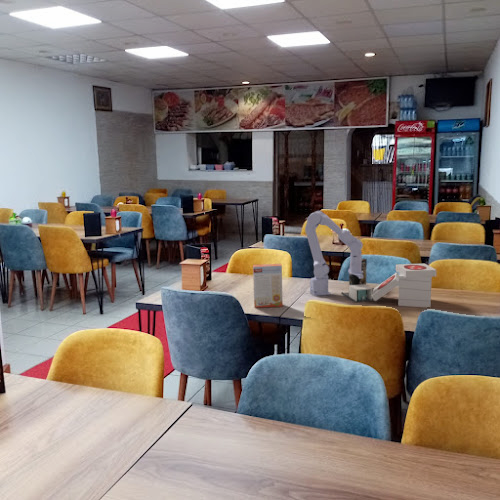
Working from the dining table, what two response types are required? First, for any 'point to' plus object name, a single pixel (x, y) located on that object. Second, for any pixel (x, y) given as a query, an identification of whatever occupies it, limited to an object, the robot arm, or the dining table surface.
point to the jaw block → (361, 294)
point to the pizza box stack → (409, 285)
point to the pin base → (357, 299)
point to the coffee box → (363, 268)
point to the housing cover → (354, 289)
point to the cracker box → (267, 285)
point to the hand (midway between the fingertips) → (355, 289)
